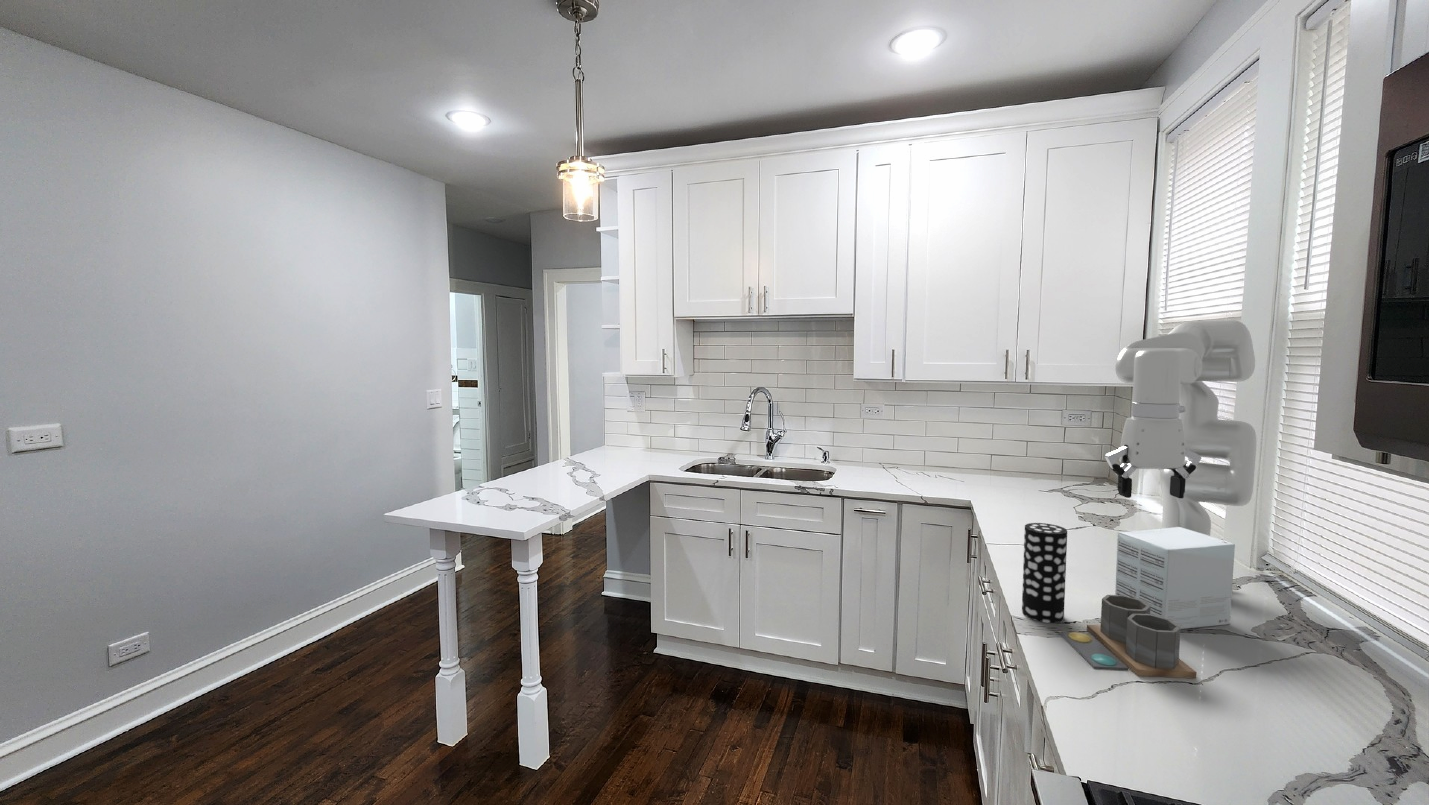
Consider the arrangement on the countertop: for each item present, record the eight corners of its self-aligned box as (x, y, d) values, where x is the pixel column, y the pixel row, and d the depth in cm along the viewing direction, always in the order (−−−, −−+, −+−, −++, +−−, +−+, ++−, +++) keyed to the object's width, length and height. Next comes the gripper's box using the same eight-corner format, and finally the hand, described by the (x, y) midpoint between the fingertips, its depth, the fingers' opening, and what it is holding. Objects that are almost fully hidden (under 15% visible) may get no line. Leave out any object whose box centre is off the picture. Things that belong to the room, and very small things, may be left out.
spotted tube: (1059, 609, 137) (1062, 524, 135) (1067, 625, 129) (1071, 535, 127) (1019, 604, 139) (1021, 521, 138) (1025, 620, 132) (1028, 532, 130)
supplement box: (1174, 600, 141) (1179, 525, 140) (1232, 625, 128) (1237, 543, 127) (1111, 606, 138) (1115, 530, 137) (1163, 632, 125) (1168, 549, 124)
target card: (1089, 634, 125) (1089, 631, 125) (1128, 669, 111) (1128, 666, 111) (1058, 633, 125) (1059, 630, 125) (1094, 668, 111) (1094, 665, 111)
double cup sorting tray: (1136, 631, 126) (1138, 594, 125) (1196, 678, 108) (1198, 634, 107) (1086, 630, 127) (1088, 592, 126) (1137, 675, 109) (1139, 632, 108)
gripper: (1188, 409, 121) (1184, 492, 122) (1098, 410, 122) (1094, 491, 124) (1215, 413, 113) (1210, 501, 115) (1119, 414, 115) (1115, 500, 116)
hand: (1150, 496), depth 119 cm, fingers open, 9 cm apart
